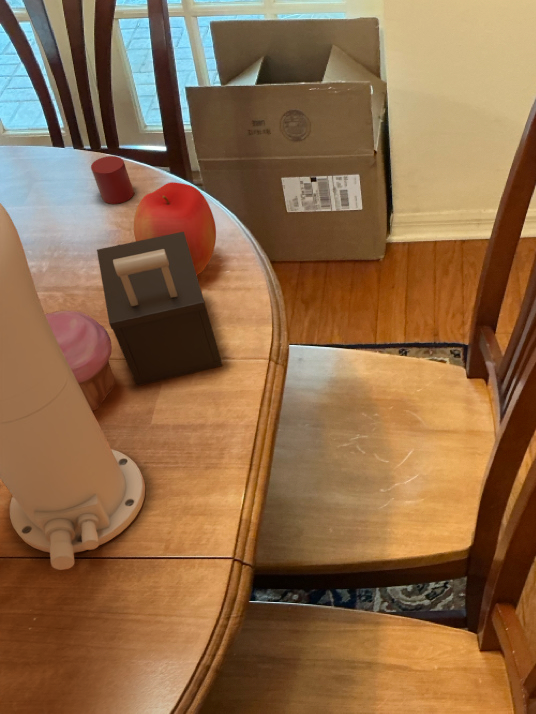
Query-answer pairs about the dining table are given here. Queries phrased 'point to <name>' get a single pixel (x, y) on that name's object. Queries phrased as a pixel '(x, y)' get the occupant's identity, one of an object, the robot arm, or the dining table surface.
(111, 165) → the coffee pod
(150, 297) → the bin lid
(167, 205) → the apple
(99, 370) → the cupcake
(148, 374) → the open square bin
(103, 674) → the dining table surface
